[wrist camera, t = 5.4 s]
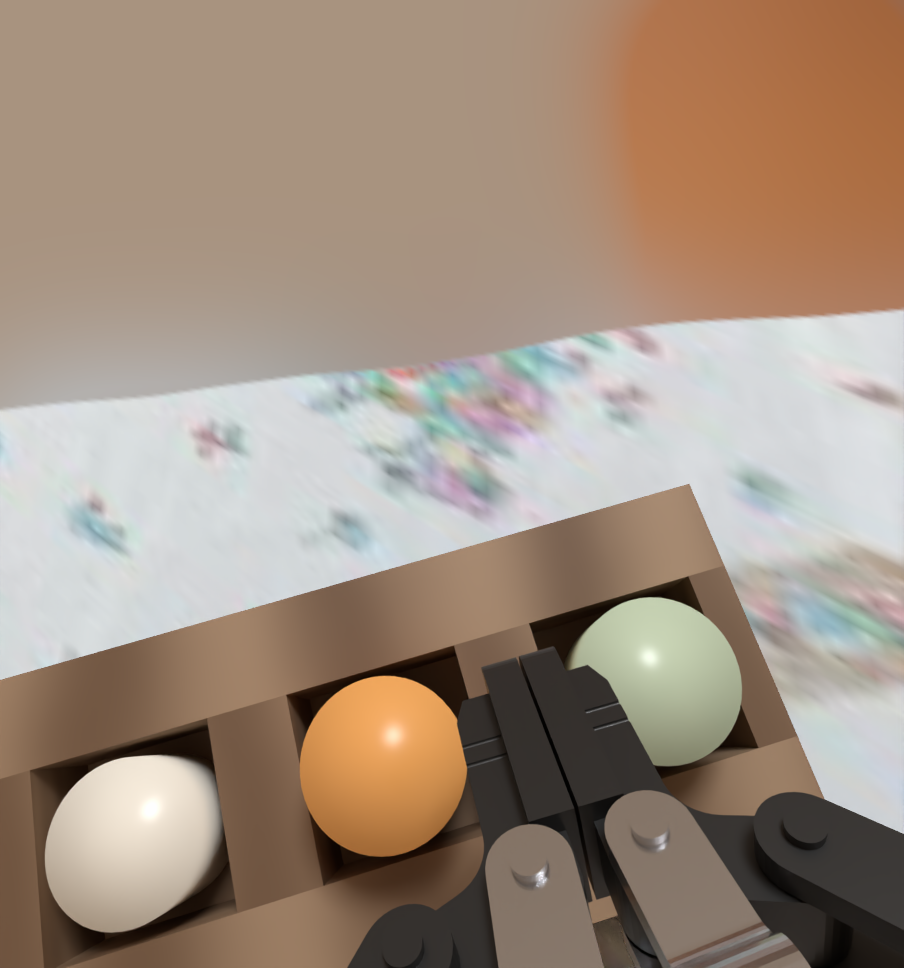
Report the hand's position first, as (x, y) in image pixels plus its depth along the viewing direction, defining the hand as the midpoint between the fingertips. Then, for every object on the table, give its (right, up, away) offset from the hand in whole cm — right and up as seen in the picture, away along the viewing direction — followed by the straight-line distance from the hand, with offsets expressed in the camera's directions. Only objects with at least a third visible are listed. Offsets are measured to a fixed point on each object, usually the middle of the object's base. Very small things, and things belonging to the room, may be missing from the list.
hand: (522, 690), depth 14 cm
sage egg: (+4, -2, +6) cm, 7 cm away
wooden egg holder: (-3, -6, +13) cm, 15 cm away
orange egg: (-3, -4, +6) cm, 7 cm away
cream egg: (-10, -6, +7) cm, 13 cm away
